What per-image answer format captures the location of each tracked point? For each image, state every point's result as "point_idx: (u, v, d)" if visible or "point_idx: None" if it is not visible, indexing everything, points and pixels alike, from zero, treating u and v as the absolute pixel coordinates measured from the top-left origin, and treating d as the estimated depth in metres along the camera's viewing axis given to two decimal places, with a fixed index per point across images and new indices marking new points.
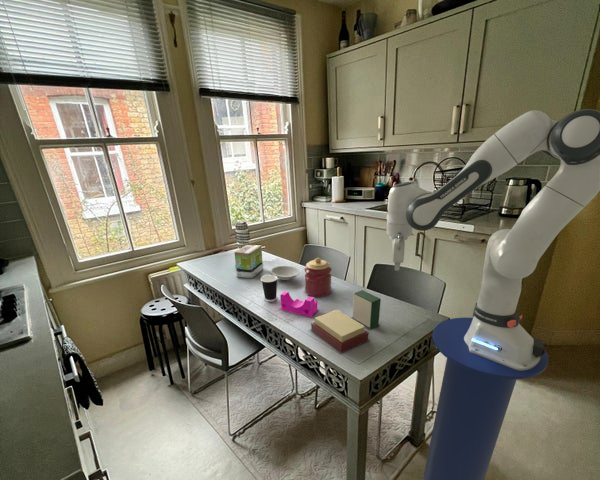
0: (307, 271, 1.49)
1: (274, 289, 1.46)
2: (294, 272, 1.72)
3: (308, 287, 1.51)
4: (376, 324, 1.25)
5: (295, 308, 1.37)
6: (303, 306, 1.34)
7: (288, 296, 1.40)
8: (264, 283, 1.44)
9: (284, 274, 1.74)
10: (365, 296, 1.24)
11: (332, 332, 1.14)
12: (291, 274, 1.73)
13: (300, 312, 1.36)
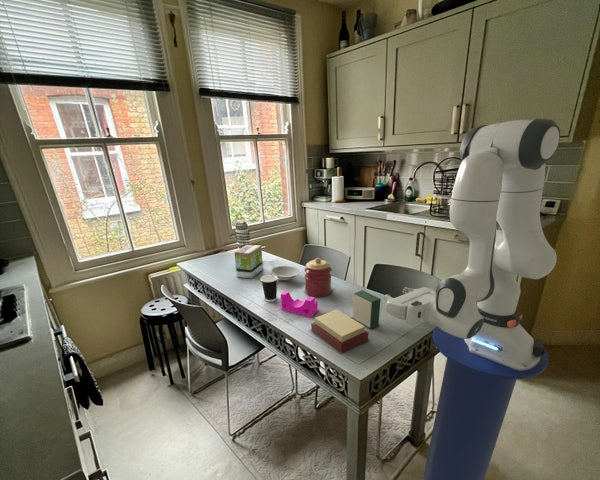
0: (307, 271, 1.49)
1: (274, 289, 1.46)
2: (294, 272, 1.72)
3: (308, 287, 1.51)
4: (376, 324, 1.25)
5: (295, 308, 1.37)
6: (303, 306, 1.34)
7: (288, 296, 1.40)
8: (264, 283, 1.44)
9: (284, 274, 1.74)
10: (365, 296, 1.24)
11: (332, 332, 1.14)
12: (291, 274, 1.73)
13: (300, 312, 1.36)
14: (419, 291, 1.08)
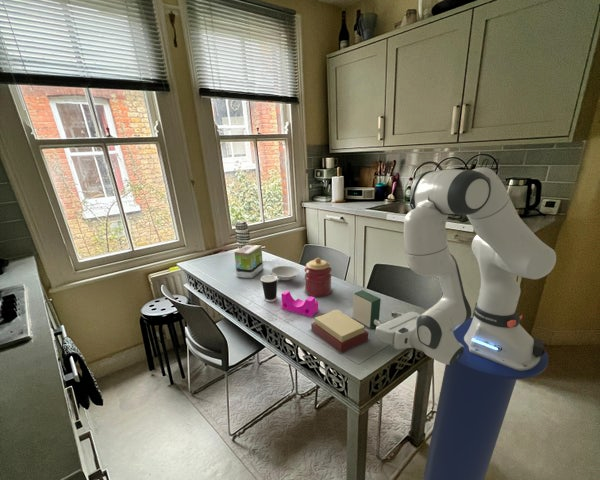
0: (307, 271, 1.49)
1: (274, 289, 1.46)
2: (294, 272, 1.72)
3: (308, 287, 1.51)
4: None
5: (295, 308, 1.37)
6: (304, 306, 1.34)
7: (289, 295, 1.40)
8: (264, 283, 1.44)
9: (284, 274, 1.74)
10: (365, 296, 1.24)
11: (332, 332, 1.14)
12: (291, 274, 1.73)
13: (301, 312, 1.36)
14: (407, 316, 1.15)
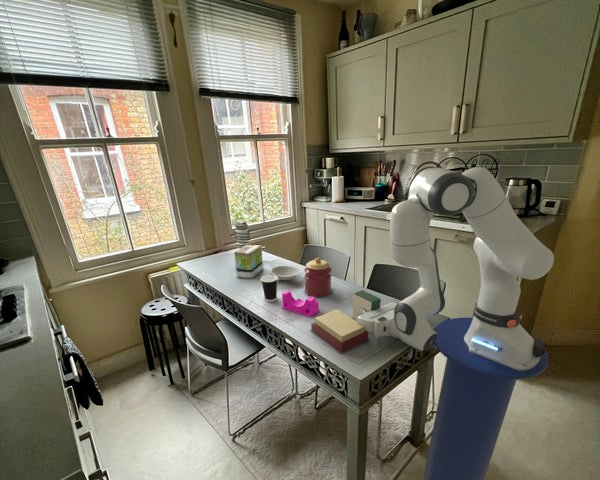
0: (307, 271, 1.49)
1: (274, 289, 1.46)
2: (294, 272, 1.72)
3: (308, 287, 1.51)
4: None
5: (296, 308, 1.37)
6: (304, 306, 1.34)
7: (290, 295, 1.40)
8: (264, 283, 1.44)
9: (284, 274, 1.74)
10: (365, 296, 1.24)
11: (332, 332, 1.14)
12: (291, 274, 1.73)
13: (301, 312, 1.36)
14: (387, 307, 1.22)
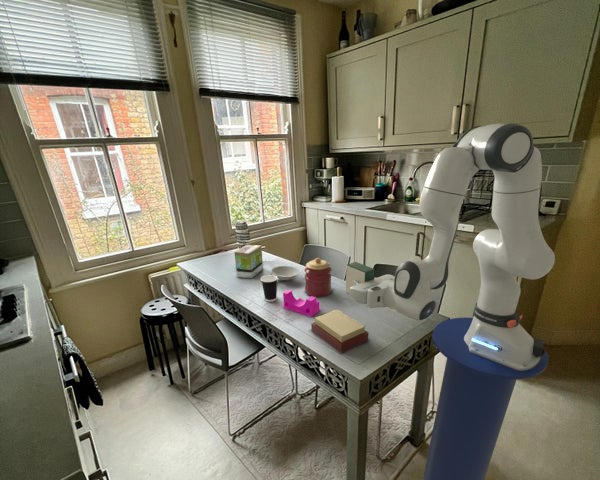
0: (307, 271, 1.49)
1: (274, 289, 1.46)
2: (294, 272, 1.72)
3: (308, 287, 1.51)
4: None
5: (297, 307, 1.38)
6: (304, 305, 1.34)
7: (291, 295, 1.40)
8: (264, 283, 1.44)
9: (284, 274, 1.74)
10: (358, 266, 1.16)
11: (332, 332, 1.14)
12: (291, 274, 1.73)
13: (301, 311, 1.37)
14: (382, 278, 1.14)
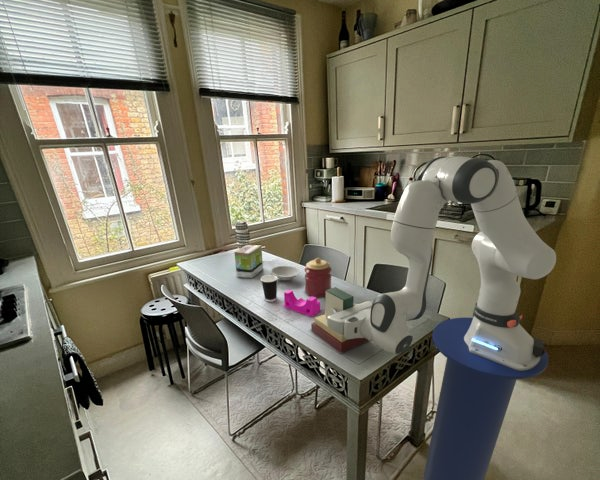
0: (307, 271, 1.49)
1: (274, 289, 1.46)
2: (294, 272, 1.72)
3: (308, 287, 1.51)
4: None
5: (297, 307, 1.38)
6: (305, 305, 1.35)
7: (292, 295, 1.41)
8: (264, 283, 1.44)
9: (284, 274, 1.74)
10: (337, 293, 1.13)
11: (332, 332, 1.14)
12: (291, 274, 1.73)
13: (302, 311, 1.37)
14: (361, 306, 1.12)
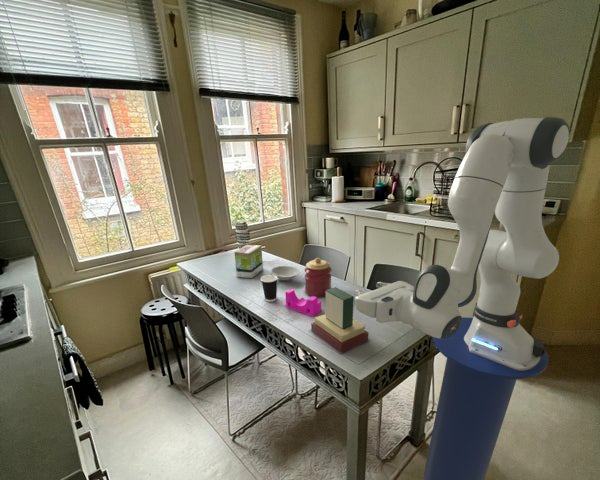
0: (307, 271, 1.49)
1: (274, 289, 1.46)
2: (294, 272, 1.72)
3: (308, 287, 1.51)
4: (350, 324, 1.14)
5: (298, 307, 1.38)
6: (305, 305, 1.35)
7: (293, 294, 1.41)
8: (264, 283, 1.44)
9: (284, 274, 1.74)
10: (337, 293, 1.13)
11: (332, 332, 1.14)
12: (291, 274, 1.73)
13: (303, 311, 1.37)
14: (393, 286, 0.97)
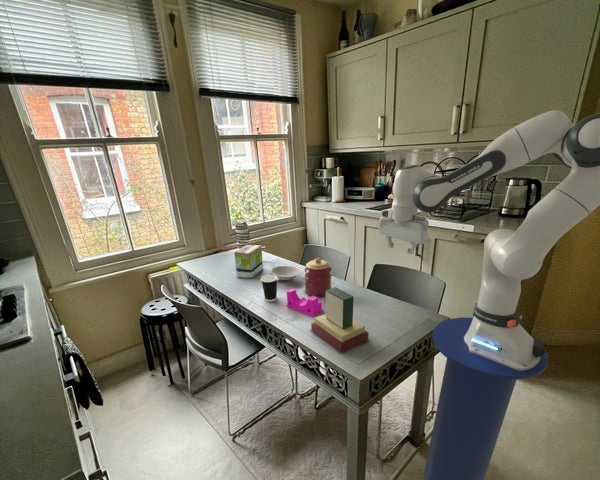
0: (307, 271, 1.49)
1: (274, 289, 1.46)
2: (294, 272, 1.72)
3: (308, 287, 1.51)
4: (350, 324, 1.14)
5: (299, 306, 1.38)
6: (306, 305, 1.35)
7: (294, 294, 1.41)
8: (264, 283, 1.44)
9: (284, 274, 1.74)
10: (337, 293, 1.13)
11: (332, 332, 1.14)
12: (291, 274, 1.73)
13: (303, 310, 1.37)
14: None
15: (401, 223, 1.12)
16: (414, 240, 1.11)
